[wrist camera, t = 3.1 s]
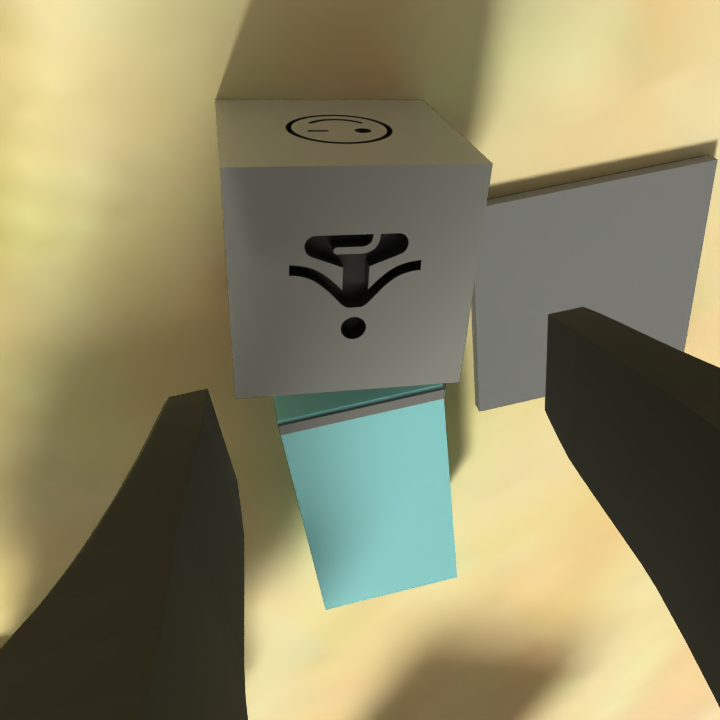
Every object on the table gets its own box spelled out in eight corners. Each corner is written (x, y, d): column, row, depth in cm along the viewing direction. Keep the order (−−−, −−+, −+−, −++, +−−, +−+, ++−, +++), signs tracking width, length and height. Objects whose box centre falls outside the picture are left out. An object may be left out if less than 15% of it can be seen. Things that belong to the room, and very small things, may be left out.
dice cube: (422, 99, 17) (492, 163, 13) (405, 282, 20) (459, 381, 16) (214, 98, 16) (220, 167, 12) (227, 290, 19) (235, 398, 15)
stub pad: (674, 358, 23) (681, 365, 23) (475, 404, 23) (479, 411, 22) (708, 155, 19) (717, 159, 19) (467, 203, 19) (472, 209, 18)
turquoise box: (434, 510, 25) (460, 578, 23) (313, 539, 25) (326, 612, 22) (416, 325, 20) (447, 385, 18) (267, 357, 20) (277, 423, 18)
